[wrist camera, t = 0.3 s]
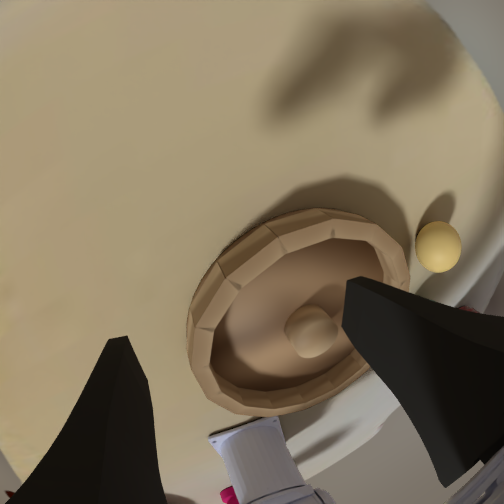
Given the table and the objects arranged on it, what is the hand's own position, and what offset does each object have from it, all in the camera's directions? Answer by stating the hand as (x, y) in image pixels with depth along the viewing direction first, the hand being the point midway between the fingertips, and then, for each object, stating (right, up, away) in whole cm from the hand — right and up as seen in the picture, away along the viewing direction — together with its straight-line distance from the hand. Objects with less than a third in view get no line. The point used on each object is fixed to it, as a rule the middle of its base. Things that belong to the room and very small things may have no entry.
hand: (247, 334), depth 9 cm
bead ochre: (+16, +4, +16) cm, 23 cm away
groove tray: (+4, -3, +14) cm, 15 cm away
